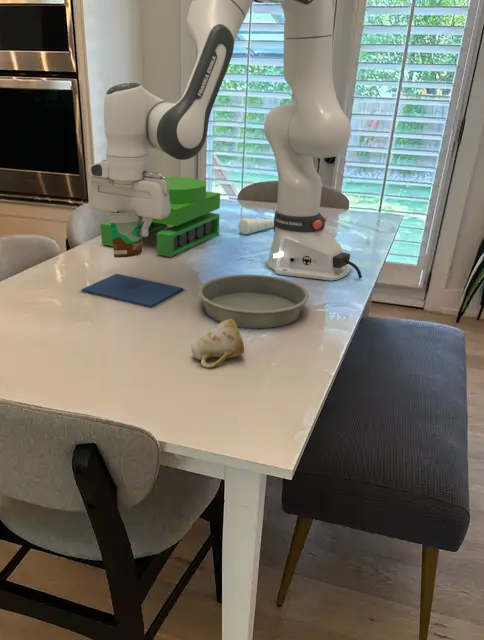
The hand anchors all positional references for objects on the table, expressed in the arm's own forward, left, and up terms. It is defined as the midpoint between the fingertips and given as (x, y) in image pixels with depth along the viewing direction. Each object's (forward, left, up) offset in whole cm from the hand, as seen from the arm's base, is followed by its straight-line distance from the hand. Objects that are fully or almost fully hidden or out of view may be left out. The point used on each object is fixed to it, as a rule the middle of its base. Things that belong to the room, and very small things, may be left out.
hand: (130, 233), depth 138 cm
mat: (0, 0, -14) cm, 14 cm away
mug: (-35, +22, -14) cm, 44 cm away
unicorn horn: (-2, -72, -14) cm, 73 cm away
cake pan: (-30, -4, -14) cm, 33 cm away
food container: (-1, 0, -4) cm, 5 cm away
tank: (+19, -39, -14) cm, 46 cm away
